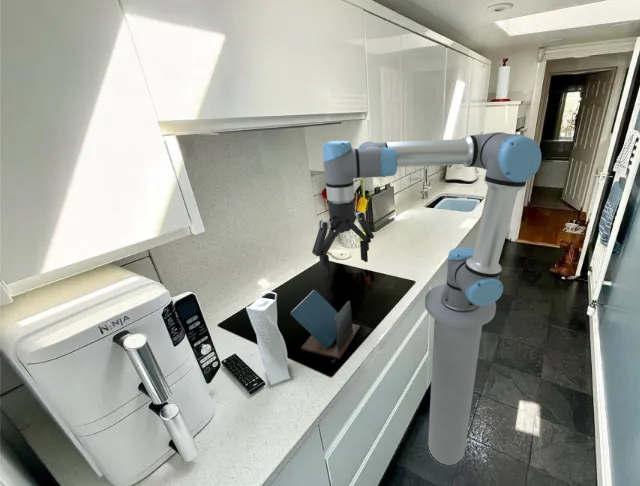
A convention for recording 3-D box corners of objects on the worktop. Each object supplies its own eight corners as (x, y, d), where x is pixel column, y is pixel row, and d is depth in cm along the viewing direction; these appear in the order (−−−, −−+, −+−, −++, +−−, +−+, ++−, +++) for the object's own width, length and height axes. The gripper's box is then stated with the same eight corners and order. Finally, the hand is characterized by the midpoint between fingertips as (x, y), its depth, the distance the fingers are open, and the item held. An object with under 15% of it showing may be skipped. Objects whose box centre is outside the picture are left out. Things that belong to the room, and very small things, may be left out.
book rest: (360, 327, 109) (357, 296, 103) (339, 359, 95) (335, 326, 90) (325, 320, 113) (321, 290, 108) (301, 349, 100) (294, 317, 94)
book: (347, 321, 107) (314, 289, 106) (330, 345, 97) (294, 309, 95) (342, 325, 109) (310, 293, 107) (325, 348, 99) (289, 313, 97)
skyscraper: (291, 362, 95) (274, 285, 83) (296, 379, 89) (278, 298, 77) (264, 371, 92) (242, 293, 80) (268, 389, 86) (244, 307, 74)
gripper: (369, 190, 95) (371, 251, 105) (293, 206, 82) (304, 275, 91) (384, 194, 90) (385, 259, 100) (306, 212, 76) (316, 285, 86)
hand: (346, 267), depth 95 cm, fingers open, 13 cm apart
